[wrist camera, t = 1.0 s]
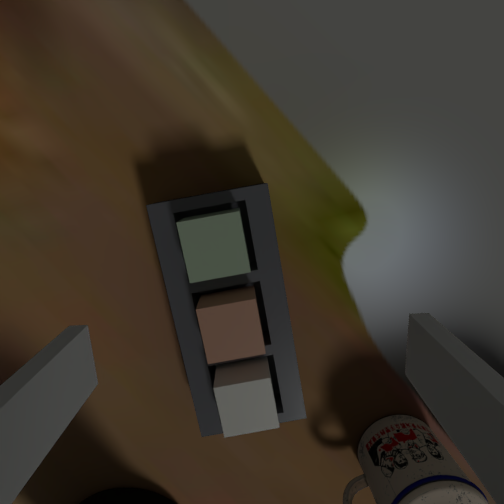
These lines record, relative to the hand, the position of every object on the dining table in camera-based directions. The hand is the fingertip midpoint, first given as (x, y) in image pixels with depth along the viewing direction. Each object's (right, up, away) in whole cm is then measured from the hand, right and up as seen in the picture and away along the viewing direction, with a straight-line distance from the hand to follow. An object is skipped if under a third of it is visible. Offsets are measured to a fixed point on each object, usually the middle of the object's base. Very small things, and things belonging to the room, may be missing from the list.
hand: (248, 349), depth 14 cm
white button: (0, -9, +19) cm, 20 cm away
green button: (-3, +5, +16) cm, 17 cm away
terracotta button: (-2, -2, +17) cm, 17 cm away
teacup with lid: (+15, -18, +24) cm, 33 cm away
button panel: (-2, -1, +20) cm, 20 cm away
